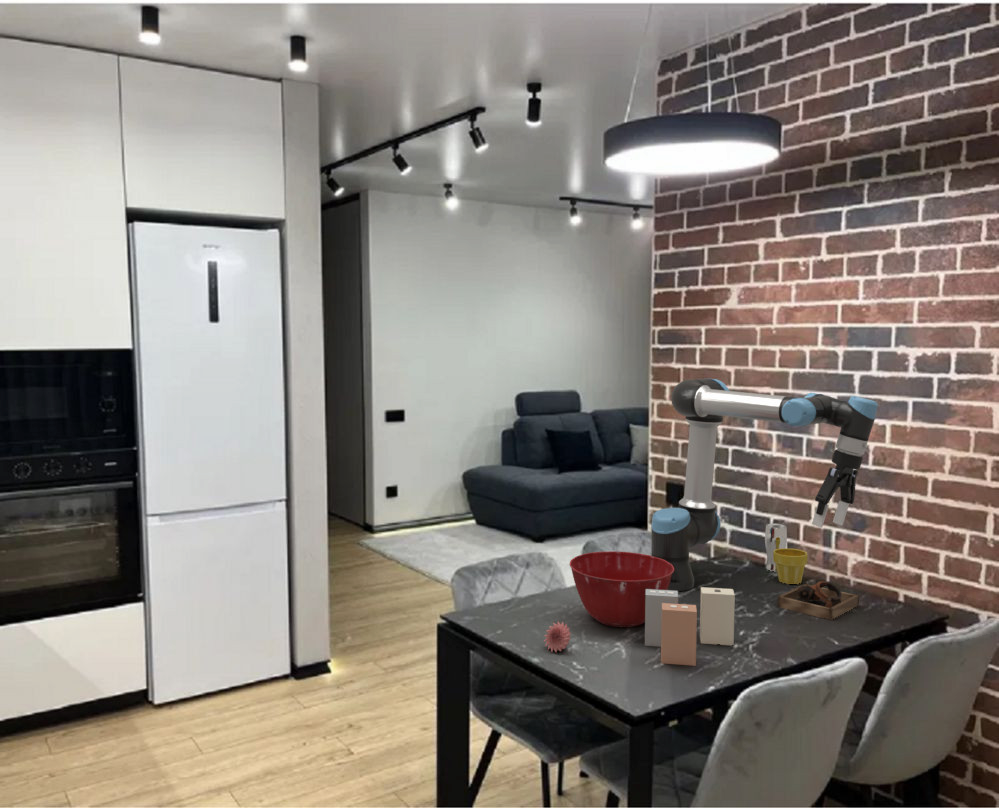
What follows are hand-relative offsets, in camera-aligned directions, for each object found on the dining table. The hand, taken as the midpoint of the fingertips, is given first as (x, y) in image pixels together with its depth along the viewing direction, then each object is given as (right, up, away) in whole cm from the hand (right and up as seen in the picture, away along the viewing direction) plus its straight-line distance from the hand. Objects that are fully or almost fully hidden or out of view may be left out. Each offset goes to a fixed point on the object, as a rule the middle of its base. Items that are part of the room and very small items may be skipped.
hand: (827, 524), depth 226 cm
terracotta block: (-49, -28, -33) cm, 65 cm away
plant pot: (+1, -23, +32) cm, 39 cm away
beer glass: (+1, -22, +46) cm, 51 cm away
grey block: (-51, -27, -21) cm, 61 cm away
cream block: (-36, -27, -20) cm, 49 cm away
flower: (-77, -27, -26) cm, 86 cm away
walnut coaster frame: (0, -25, +8) cm, 26 cm away
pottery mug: (0, -25, +8) cm, 26 cm away
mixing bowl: (-59, -26, -4) cm, 64 cm away
